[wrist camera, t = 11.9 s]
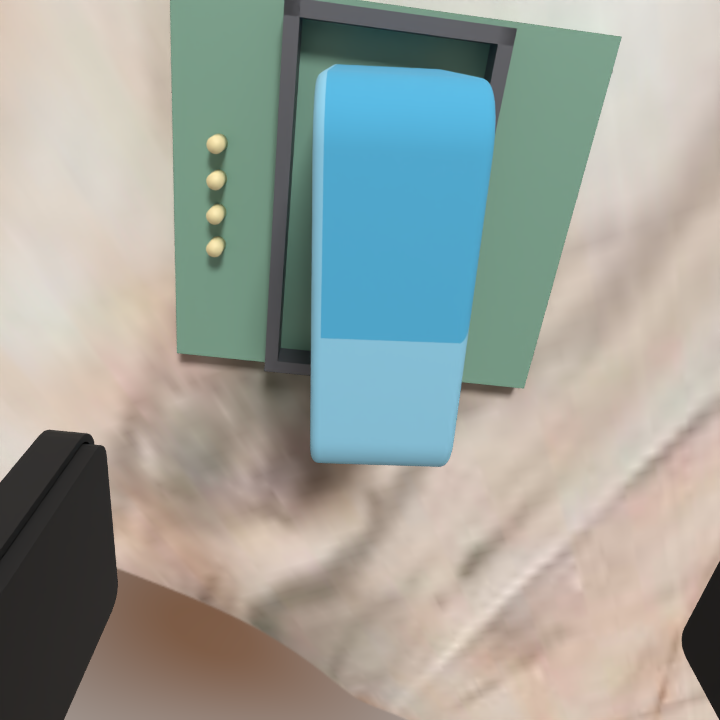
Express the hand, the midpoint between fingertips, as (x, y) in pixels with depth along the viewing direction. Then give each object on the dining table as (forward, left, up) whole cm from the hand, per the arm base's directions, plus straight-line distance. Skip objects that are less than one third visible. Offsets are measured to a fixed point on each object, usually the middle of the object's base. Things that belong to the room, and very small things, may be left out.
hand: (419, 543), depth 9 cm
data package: (0, 0, -21) cm, 21 cm away
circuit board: (0, 0, -22) cm, 22 cm away
